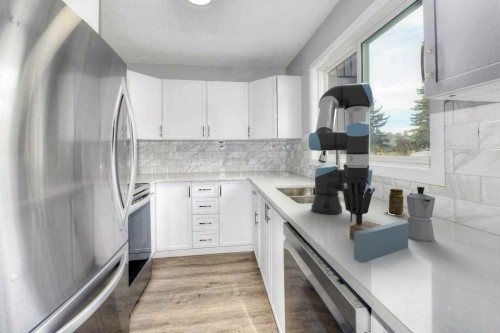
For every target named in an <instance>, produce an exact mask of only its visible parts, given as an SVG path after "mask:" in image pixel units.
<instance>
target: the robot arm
mask: <svg viewBox="0 0 500 333" xmlns="http://www.w3.org/2000/svg"><path fill="white" fill-rule="evenodd" d="M372 90H373V89H372V85H371V84H370V83H369V82H357V83H349V84H341V85H340V84H339V85H334V86H333V87H330V88H329V89H328V90H327V91H325V92H324V93H323V94H322V95H321V97H320V99H319V101H318V109H319V111H318V118H317V122H316V127H315V132H310V133H309V135H308V148H309V150H310V151H315V152H316V151H318V152H322V151H323V152H327V151H345V162H344V163H343V167H340V166H339V165H337V164H334V165H327V166H319V167H316V169H315V171H314V197H313V202H312V204H311V211H312V212H314V213H316V214H317V213H318V214H321V215H322V214H323V215H338V214H341V213H343V207H342V205H341V199H340V197H339V193H340V192H342V194H343V200H344V201H343V202H344V206H345V211H348V212H349V213H350V222H351V225H354V224H361V223H362V222H363V215H366V214H368V212H369V209H370V205H371V200H372V197H373V194H374V192H375V191H376V188H375V187H372V186H371V184H372V179H373V171H374V170H373V168H370V152H369V151H370V134H371V131H370V124H369V123H368V122H367V113H368V112H369V111H370V108H371V107H372V106H374V98H373V97H374V96H373V91H372ZM339 109H344V111H343V112H344V113H345V114H346V115H347V119H346V121H347V123H346V124H347V125H346V130H345V131H335V123H336V116H337V114H336V112H337V110H339Z"/></svg>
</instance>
